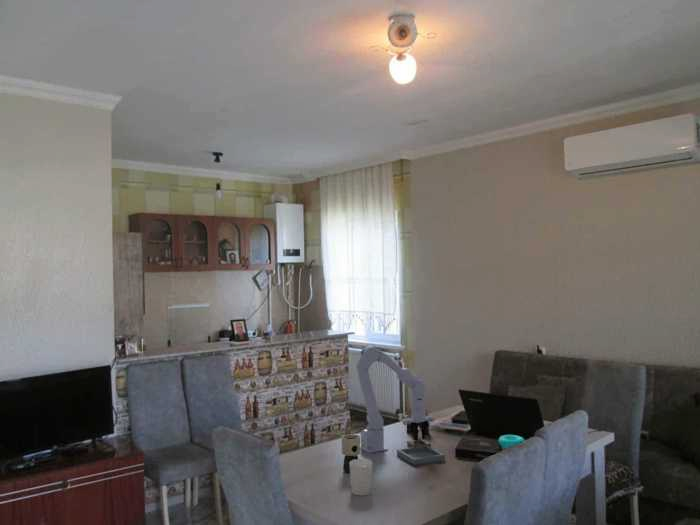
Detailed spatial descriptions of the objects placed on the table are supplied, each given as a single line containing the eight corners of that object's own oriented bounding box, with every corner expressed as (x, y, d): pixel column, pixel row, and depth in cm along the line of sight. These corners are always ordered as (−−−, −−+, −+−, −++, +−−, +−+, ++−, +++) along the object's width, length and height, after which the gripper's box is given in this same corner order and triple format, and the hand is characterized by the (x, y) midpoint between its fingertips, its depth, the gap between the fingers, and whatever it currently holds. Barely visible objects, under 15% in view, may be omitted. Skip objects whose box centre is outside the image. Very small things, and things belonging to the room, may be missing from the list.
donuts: (521, 433, 221) (528, 441, 211) (522, 459, 221) (528, 467, 211) (496, 433, 222) (501, 441, 212) (496, 459, 222) (502, 467, 212)
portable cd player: (501, 449, 234) (501, 440, 234) (497, 462, 218) (496, 452, 218) (462, 446, 240) (462, 437, 240) (455, 458, 224) (455, 448, 224)
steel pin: (417, 448, 237) (417, 429, 237) (414, 446, 239) (413, 428, 240) (423, 447, 238) (423, 428, 238) (420, 445, 241) (419, 427, 241)
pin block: (415, 450, 234) (415, 445, 234) (407, 445, 241) (407, 441, 241) (431, 448, 237) (431, 443, 237) (422, 443, 244) (422, 438, 244)
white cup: (359, 485, 196) (359, 457, 196) (377, 491, 191) (376, 461, 191) (345, 492, 190) (344, 463, 190) (363, 498, 185) (362, 468, 185)
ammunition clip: (406, 432, 261) (405, 407, 261) (407, 431, 262) (407, 406, 263) (428, 435, 256) (427, 409, 256) (429, 434, 258) (428, 408, 258)
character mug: (350, 477, 204) (350, 441, 204) (335, 473, 208) (334, 439, 209) (367, 468, 213) (366, 434, 213) (351, 465, 217) (351, 432, 217)
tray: (414, 466, 215) (414, 459, 215) (397, 455, 228) (396, 449, 228) (444, 460, 220) (444, 454, 220) (426, 450, 233) (426, 445, 233)
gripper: (408, 411, 233) (408, 444, 232) (437, 407, 238) (438, 439, 238) (400, 408, 239) (400, 439, 239) (428, 404, 245) (429, 435, 244)
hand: (418, 439), depth 239 cm, fingers closed on steel pin, 3 cm apart
